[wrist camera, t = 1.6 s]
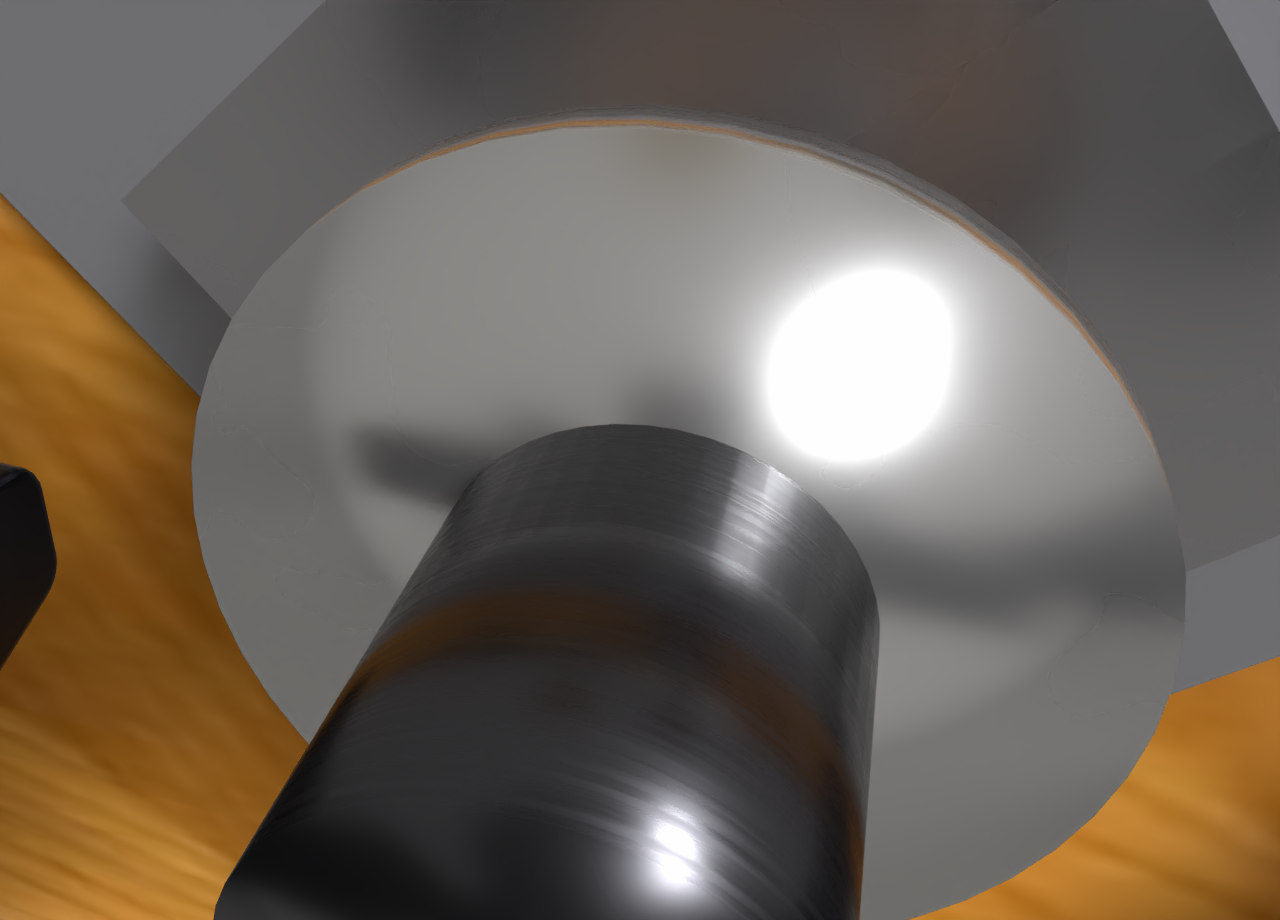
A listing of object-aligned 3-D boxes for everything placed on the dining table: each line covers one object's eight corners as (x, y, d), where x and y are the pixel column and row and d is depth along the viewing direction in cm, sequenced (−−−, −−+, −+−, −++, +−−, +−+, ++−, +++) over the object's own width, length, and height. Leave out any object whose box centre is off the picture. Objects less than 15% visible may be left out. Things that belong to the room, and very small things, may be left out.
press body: (1326, 259, 16) (1461, 463, 12) (722, 560, 20) (665, 779, 16) (916, -480, 13) (900, -560, 8) (316, 79, 17) (120, 200, 13)
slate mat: (1986, 350, 15) (2044, 388, 15) (672, 834, 26) (664, 871, 25) (1196, -1949, 9) (1222, -2122, 8) (-153, -27, 19) (-202, -13, 18)
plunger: (1225, 394, 12) (1593, 1330, 5) (691, 641, 16) (483, 1412, 9) (845, -224, 10) (608, -22, 3) (318, 218, 13) (-363, 795, 6)
